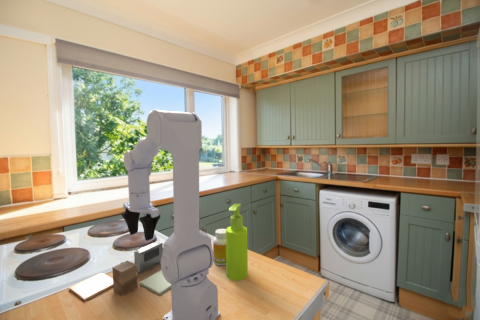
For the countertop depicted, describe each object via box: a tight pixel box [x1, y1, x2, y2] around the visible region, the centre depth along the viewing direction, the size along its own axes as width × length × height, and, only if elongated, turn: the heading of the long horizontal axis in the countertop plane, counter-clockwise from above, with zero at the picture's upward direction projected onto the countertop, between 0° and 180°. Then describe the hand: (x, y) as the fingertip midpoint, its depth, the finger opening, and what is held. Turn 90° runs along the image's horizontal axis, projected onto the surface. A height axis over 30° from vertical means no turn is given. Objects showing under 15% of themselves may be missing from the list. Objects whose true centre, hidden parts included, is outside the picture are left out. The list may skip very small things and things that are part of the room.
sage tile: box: [139, 269, 171, 296], centre depth 64 cm, size 8×8×1 cm
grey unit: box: [133, 240, 164, 275], centre depth 71 cm, size 3×8×6 cm, turn 147°
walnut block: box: [112, 260, 138, 297], centre depth 60 cm, size 4×4×6 cm
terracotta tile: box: [69, 272, 113, 302], centre depth 61 cm, size 8×8×1 cm
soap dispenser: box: [225, 203, 249, 282], centre depth 65 cm, size 6×7×20 cm
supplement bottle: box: [212, 228, 226, 266], centre depth 73 cm, size 5×5×10 cm
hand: (141, 236), depth 71 cm, fingers open, 7 cm apart
